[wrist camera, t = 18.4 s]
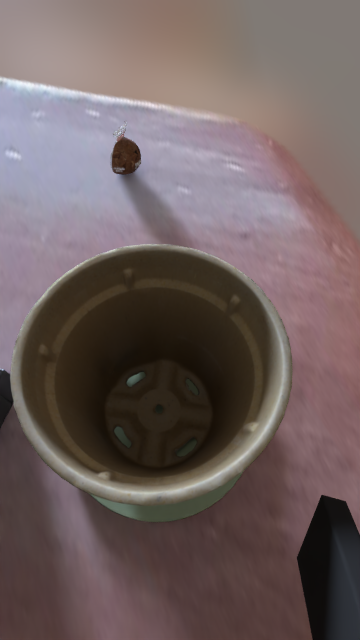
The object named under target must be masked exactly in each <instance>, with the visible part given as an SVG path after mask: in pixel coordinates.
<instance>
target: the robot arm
mask: <svg viewBox="0 0 360 640" xmlns="http://www.w3.org/2000/svg"><path fill="white" fill-rule="evenodd" d="M297 561H298V566H299V571H300V576H301V582H302V587H303V592H304V597H305V602H306V607H307V612H308V618H309V623H310V628H311V633H312V638H313V640H360V534H359V532H358V530H357V527H356V525H355V522H354V520H353V518H352V515H351V513H350V510H349V508H348V506H347V503H346V501H342V500H339V499H335V498H332V497H328V496H324V495H321V498H320V500H319V503H318V505H317V508H316V511H315V513H314V516H313V518H312V521H311V523H310V526H309V528H308V531H307V533H306V536H305V538H304V541H303V544H302V546H301V549H300V551H299V554H298V556H297Z"/></svg>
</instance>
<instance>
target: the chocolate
mask: <svg viewBox="0 0 360 640" xmlns="http://www.w3.org/2000/svg"><path fill="white" fill-rule="evenodd" d="M125 123H126V125H123V126H122V127H121V128H119V130H117V131H118V132H117V135H118V136H116V131H115V134H113V135H114V137H115V136H116V137H117V138H116V139H117V141H116V143H115V145H114V148H113V151H112V153H111V158H110V165H111V168H112V170H113V172H114V173H116V174H122V175H125V174H131V173H133V172H134V171H135V170H136V169H137V168H138V167H139V165H140V164H141V154H140V150H139V148H138V146H137V145H136V143H135V142H133V141H132V140H130V139H128V138H126V137H124V134H122V131H121V129H123V133H125V131H126V129H125V126H127V122H126V121H125ZM124 130H125V131H124ZM120 131H121V133H119V132H120ZM118 133H119V134H118ZM121 134H122V135H121ZM120 135H121V136H120ZM119 136H120V137H119Z"/></svg>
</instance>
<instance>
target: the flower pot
mask: <svg viewBox="0 0 360 640" xmlns="http://www.w3.org/2000/svg"><path fill="white" fill-rule="evenodd" d="M140 372H144V373H145V375H146V376H145V377H144V378H143V379H141V380H140V381H138V382H137V383H135V384H134V385H132V387H129V386H128V385H127V383H126V382H127V380H128V379H129V378H130V377H132V376H134V375H137V374H138V373H140ZM187 379H189V380H190V381H191V382H192V383H193V384H194V385H195V386H196V388H197V389H198V395H195V393H194V392H193V391H192V390H189V389H188V388H189V386H188V384H187V383H186V380H187ZM10 382H11V392H12V397H13V401H14V408H15V412H16V414H17V416H18V419H19V423H20V424H21V426H22V429H23V431H24V433H25V435H26V437H27V439H28V440H29V442H30V443H31V445H32V447H33V448H34V450H35V451H36V452H37V453H38V455H39V456H40V457H41V459H42V460H43V461H44V462H45V463H46V464H47V465H48V466H49V467H50V468H51V469H52V470H53V471H54V472H55V473H57V474H58V475H59V476H60V477H61V478H63V479H64V480H66V481H68V482H69V483H71V484H72V485H74V486H76V487H77V488H79V489H81V490H83V491H85V492H87V493H90V494H92V495H94V496H96V497H99V498H103V499H106V500H109V501H112V502H116V503H122V504H129V505H140V506H156V505H167V504H176V503H179V502H184V501H187V500H191V499H194V498H197V497H199V496H202V495H205V494H207V493H209V492H212V491H214V490H216V489H218V488H219V487H221V486H223V485H224V484H226V483H227V482H229V481H230V480H232V479H233V478H235V477H236V476H237V475H239V474H240V473H242V471H244V470H245V469H246V468H247V467H248V466H249V465H250V464H251V463H252V462H253V461H254V460H255V459H256V458H257V457H258V456H259V455H260V454H261V453H262V451H263V450H264V449H265V447H266V446H267V445H268V443H269V442H270V441H271V439H272V438H273V436H274V434H275V432H276V431H277V429H278V427H279V425H280V423H281V421H282V419H283V416H284V413H285V410H286V407H287V404H288V400H289V396H290V391H291V387H292V356H291V348H290V343H289V338H288V336H287V333H286V330H285V327H284V325H283V322H282V319H281V318H280V316H279V314H278V312H277V310H276V309H275V307H274V306H273V304H272V303H271V301H270V300H269V299H268V297H267V296H266V295H265V293H264V292H263V290H262V289H261V288H259V287H258V286H257V284H256V283H254V281H253V280H252V279H250V278H249V277H247V276H246V275H244V273H243V272H241V271H239V270H238V269H236V268H235V267H233V266H232V265H230V264H228V263H227V262H225V261H223V260H221V259H219V258H217V257H215V256H212V255H210V254H207V253H204V252H202V251H199V250H195V249H191V248H188V247H187V248H186V247H181V246H177V245H169V244H150V245H149V244H145V245H135V246H127V247H122V248H117V249H115V250H110V251H108V252H105V253H101V254H99V255H97V256H94V257H92V258H90V259H88V260H86V261H84V262H83V263H81V264H79V265H78V266H76V267H75V268H73V269H71V270H70V271H69V272H67V273H66V274H64V275H63V276H62V277H60V278H59V279H58V280H57V281H56V282H54V283H53V284H52V285H51V286H50V287H49V288H48V289H47V291H46V292H45V293H44V295H43V296H42V297H41V298H40V299H39V300H38V301H37V302H36V304H35V305H34V306H33V308H32V309H31V310H30V313H29V314H28V315H27V317H26V318H25V320H24V323H23V325H22V327H21V330H20V332H19V335H18V337H17V340H16V343H15V346H14V351H13V355H12V364H11V373H10ZM158 405H160V406H162V407H163V411H162V413H157V412H156V411H155V409H156V406H158ZM116 427H121V428H122V429H123V431H124V434H125V436H126V437H127V438H128V440H129V441H130V442H131V446H130V447H129V448H128V447H127V446H126V445H124V444H123V443H122V442H121V441H120V440H119V438H118V437H117V436H116V434H115V432H114V430H115V428H116ZM192 438H194V439H195V440H196V441H197V443H196V445H195V447H194V448H193V450H192V451H190V452H189V453H188V454H187V455H185V456H181V457H180V456H177V454H176V451H177V450H179V449H180V448H182V447H183V446H184V445H185V444H186V443H188V442H189V441H190V440H191V439H192Z"/></svg>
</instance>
